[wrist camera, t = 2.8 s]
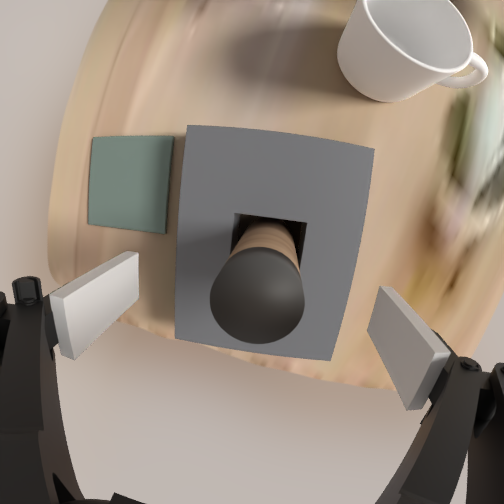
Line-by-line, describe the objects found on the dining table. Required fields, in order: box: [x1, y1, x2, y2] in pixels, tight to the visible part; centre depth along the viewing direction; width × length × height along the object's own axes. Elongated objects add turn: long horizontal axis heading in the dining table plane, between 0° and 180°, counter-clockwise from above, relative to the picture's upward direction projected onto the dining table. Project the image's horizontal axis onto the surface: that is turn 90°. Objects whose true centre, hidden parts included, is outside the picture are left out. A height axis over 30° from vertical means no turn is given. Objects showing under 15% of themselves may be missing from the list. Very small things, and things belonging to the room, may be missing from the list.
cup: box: [337, 0, 488, 103], centre depth 15 cm, size 8×12×10 cm
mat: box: [88, 136, 174, 234], centre depth 25 cm, size 9×9×1 cm
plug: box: [210, 217, 305, 344], centre depth 19 cm, size 4×4×13 cm
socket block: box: [175, 125, 375, 361], centre depth 24 cm, size 18×14×4 cm
